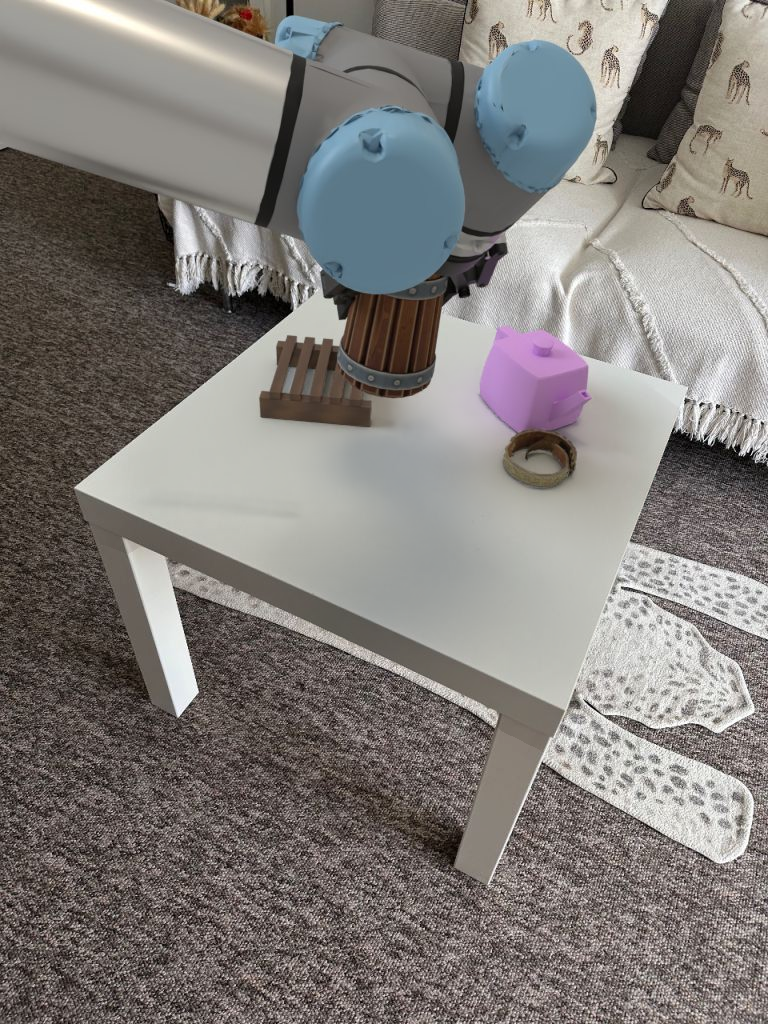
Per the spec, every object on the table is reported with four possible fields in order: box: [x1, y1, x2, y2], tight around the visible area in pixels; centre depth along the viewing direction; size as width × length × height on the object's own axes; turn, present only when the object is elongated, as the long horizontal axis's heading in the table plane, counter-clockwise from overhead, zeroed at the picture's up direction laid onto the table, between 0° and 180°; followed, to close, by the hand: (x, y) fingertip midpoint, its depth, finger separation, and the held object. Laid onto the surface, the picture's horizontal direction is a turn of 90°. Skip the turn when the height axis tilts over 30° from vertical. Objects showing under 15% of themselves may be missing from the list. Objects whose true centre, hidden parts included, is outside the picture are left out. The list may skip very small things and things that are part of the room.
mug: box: [337, 274, 448, 399], centre depth 74 cm, size 16×11×15 cm
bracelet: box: [502, 429, 578, 488], centre depth 86 cm, size 9×9×3 cm
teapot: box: [479, 324, 593, 433], centre depth 92 cm, size 18×10×10 cm, turn 28°
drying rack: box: [258, 334, 373, 428], centre depth 94 cm, size 14×14×4 cm
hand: (386, 304), depth 77 cm, fingers closed on mug, 10 cm apart
